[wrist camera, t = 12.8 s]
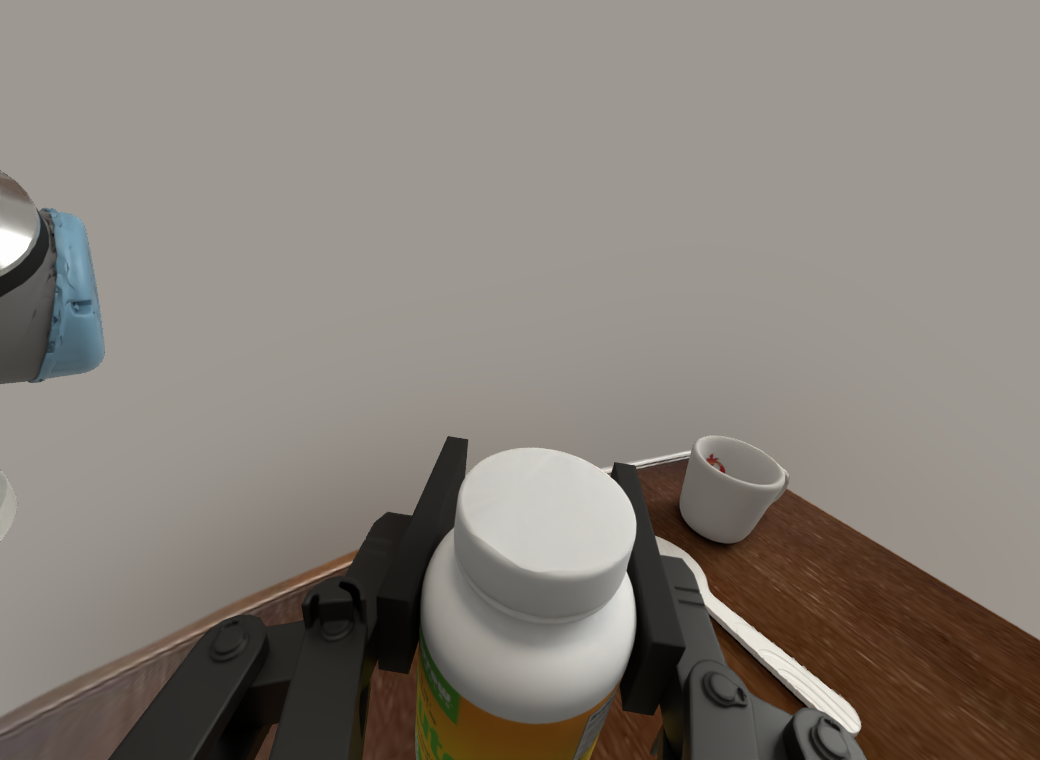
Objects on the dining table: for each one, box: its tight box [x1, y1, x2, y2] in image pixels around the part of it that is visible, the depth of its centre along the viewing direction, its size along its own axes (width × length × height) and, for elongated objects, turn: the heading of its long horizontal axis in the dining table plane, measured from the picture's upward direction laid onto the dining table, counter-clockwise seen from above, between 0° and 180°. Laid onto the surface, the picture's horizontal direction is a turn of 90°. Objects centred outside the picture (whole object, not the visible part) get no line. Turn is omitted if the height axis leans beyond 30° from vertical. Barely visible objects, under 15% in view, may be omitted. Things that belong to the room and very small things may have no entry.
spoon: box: [655, 536, 862, 738], centre depth 32 cm, size 5×18×1 cm, turn 37°
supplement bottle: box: [415, 448, 637, 760], centre depth 11 cm, size 5×5×10 cm
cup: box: [680, 436, 790, 543], centre depth 40 cm, size 11×8×8 cm
